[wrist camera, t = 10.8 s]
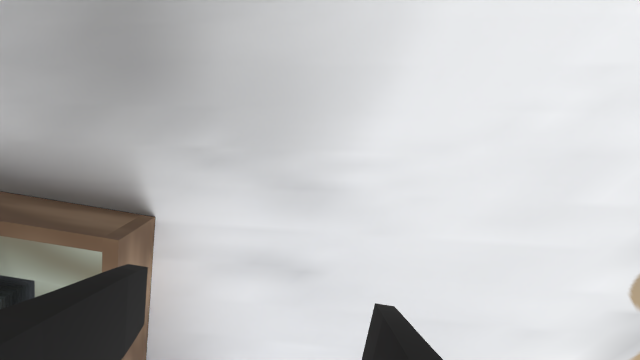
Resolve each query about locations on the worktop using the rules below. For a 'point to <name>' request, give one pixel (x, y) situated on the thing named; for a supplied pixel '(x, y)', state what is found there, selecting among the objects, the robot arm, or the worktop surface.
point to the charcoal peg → (15, 290)
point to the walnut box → (72, 246)
